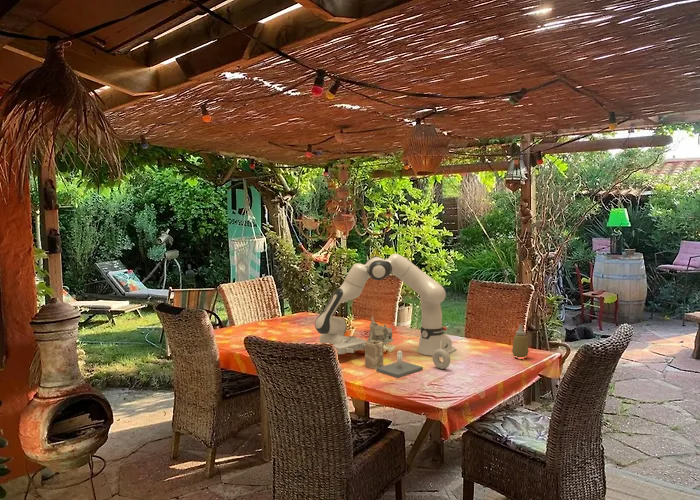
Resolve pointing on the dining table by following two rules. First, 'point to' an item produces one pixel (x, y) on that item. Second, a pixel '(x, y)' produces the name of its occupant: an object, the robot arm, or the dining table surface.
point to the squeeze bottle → (520, 343)
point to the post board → (399, 368)
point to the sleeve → (374, 354)
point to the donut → (437, 361)
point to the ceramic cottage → (379, 333)
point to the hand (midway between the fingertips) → (360, 349)
